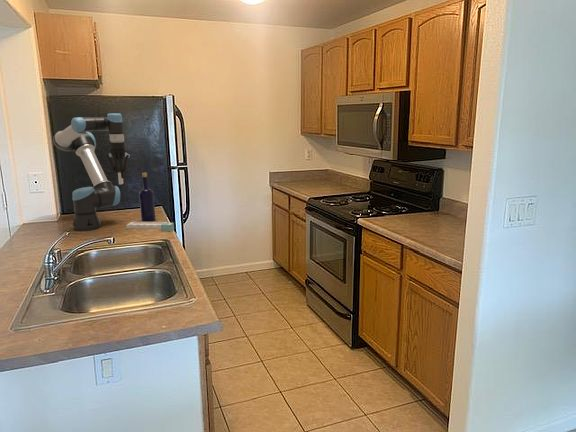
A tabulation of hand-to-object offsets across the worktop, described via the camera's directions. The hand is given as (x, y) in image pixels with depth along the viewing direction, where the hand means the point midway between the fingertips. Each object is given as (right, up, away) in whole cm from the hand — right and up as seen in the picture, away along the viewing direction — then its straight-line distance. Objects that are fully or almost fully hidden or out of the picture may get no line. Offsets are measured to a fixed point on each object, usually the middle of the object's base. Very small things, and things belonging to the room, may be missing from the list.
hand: (121, 183), depth 244 cm
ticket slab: (+11, -25, +10) cm, 29 cm away
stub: (+26, -27, +3) cm, 37 cm away
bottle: (+7, -21, +25) cm, 34 cm away
